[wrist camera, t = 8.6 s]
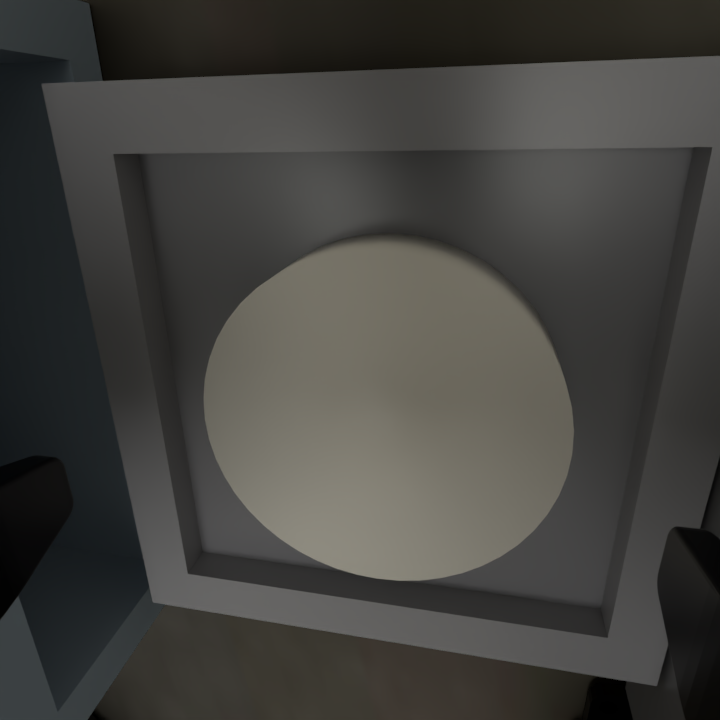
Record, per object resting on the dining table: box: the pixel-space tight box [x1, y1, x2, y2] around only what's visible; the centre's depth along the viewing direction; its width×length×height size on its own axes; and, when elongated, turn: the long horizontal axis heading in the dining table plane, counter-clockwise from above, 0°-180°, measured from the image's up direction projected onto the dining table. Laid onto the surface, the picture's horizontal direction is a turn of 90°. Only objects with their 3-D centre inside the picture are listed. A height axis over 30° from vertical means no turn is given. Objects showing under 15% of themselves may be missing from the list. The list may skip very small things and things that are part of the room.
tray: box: [41, 56, 720, 720], centre depth 11 cm, size 14×17×4 cm
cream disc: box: [203, 233, 574, 581], centre depth 11 cm, size 7×7×2 cm
